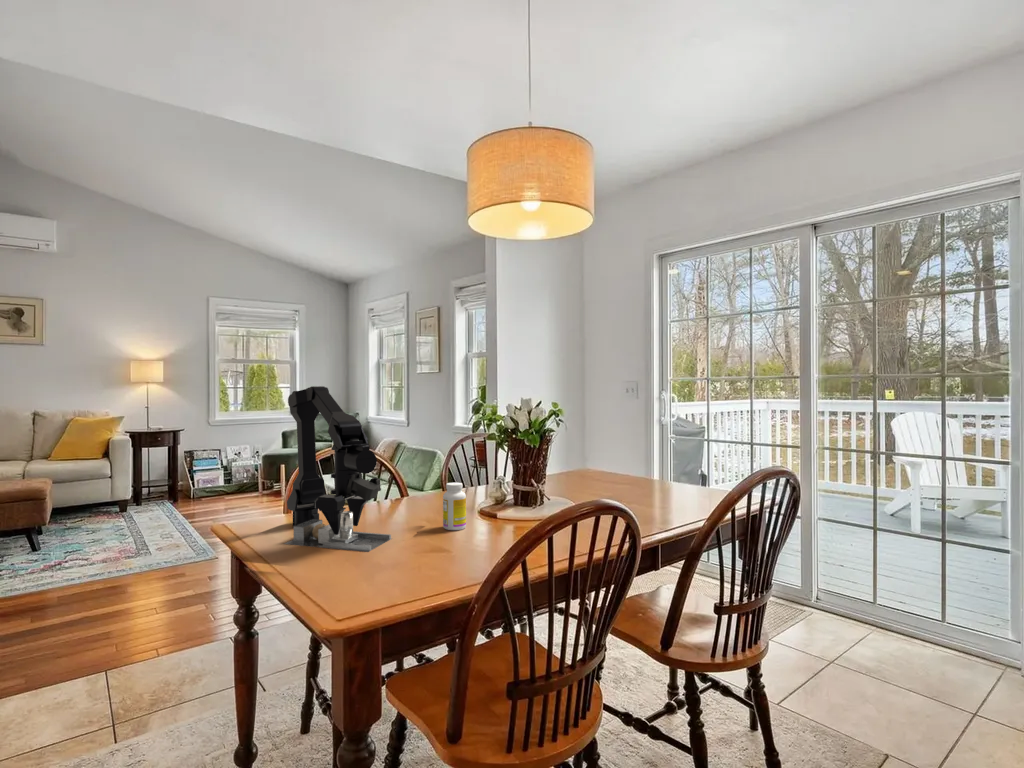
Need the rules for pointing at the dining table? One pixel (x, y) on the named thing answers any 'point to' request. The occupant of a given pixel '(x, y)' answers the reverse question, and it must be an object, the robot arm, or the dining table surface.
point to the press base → (362, 543)
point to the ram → (344, 532)
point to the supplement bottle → (454, 507)
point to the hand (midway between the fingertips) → (346, 530)
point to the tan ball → (315, 530)
